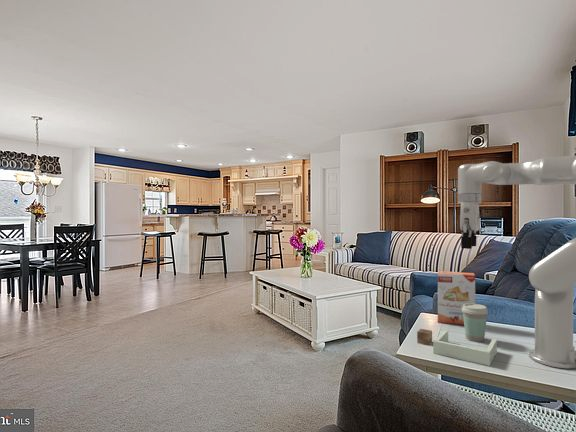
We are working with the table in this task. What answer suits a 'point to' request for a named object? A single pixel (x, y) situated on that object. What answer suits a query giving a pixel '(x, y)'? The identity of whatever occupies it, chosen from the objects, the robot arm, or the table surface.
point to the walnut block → (424, 336)
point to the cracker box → (454, 295)
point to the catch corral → (464, 350)
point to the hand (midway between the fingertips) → (468, 247)
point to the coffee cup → (475, 321)
